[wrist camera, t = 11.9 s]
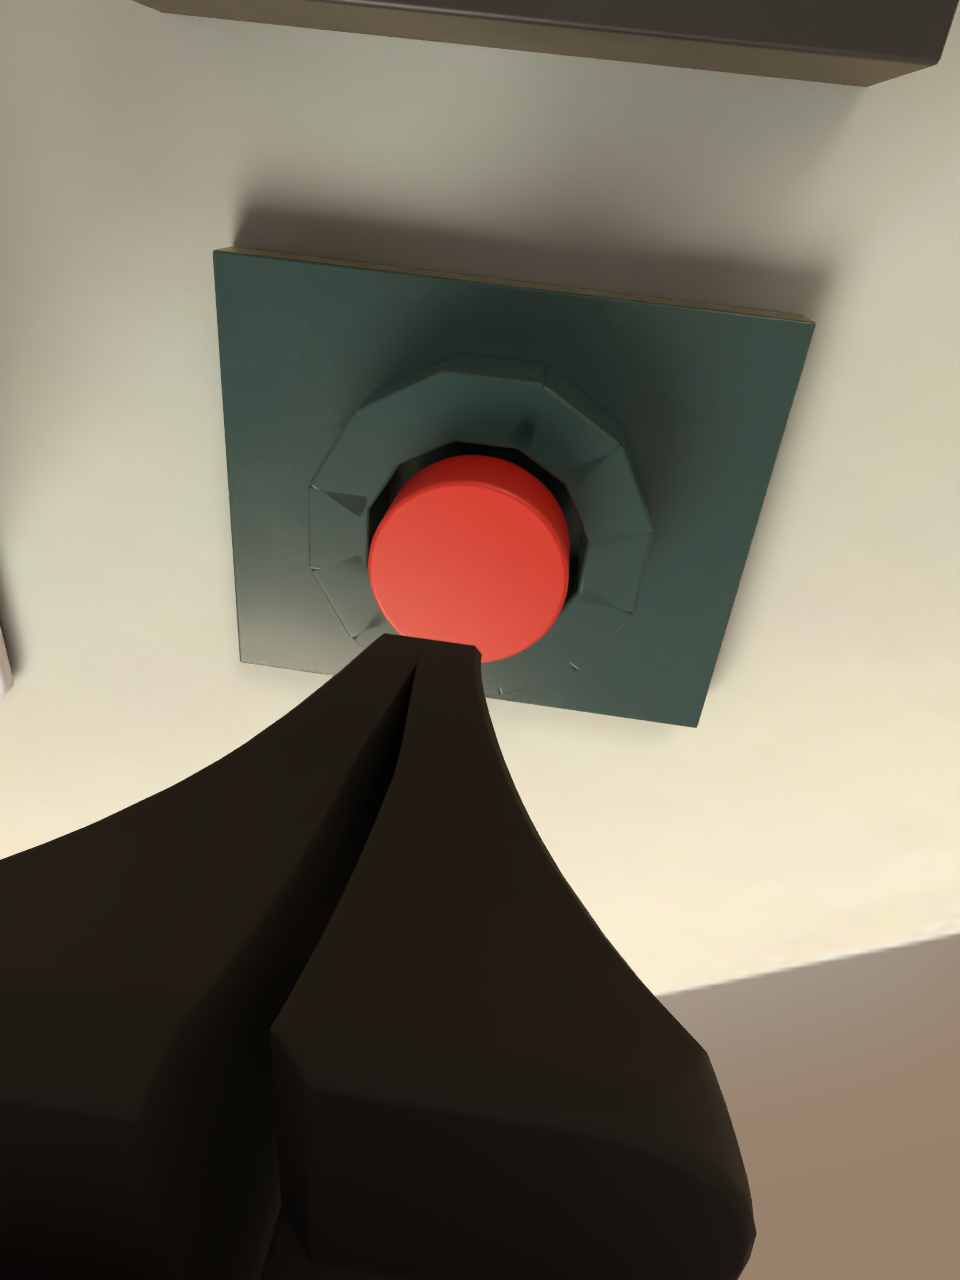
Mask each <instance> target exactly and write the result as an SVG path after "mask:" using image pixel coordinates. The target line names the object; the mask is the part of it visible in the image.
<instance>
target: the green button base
mask: <svg viewBox="0 0 960 1280" xmlns="http://www.w3.org/2000/svg"><path fill="white" fill-rule="evenodd" d="M213 263H214V278H215V293H216V308H217V323H218V338H219V353H220V368H221V383H222V397H223V412H224V427H225V442H226V457H227V472H228V487H229V502H230V517H231V531H232V546H233V561H234V576H235V591H236V606H237V621H238V636H239V651H240V661H241V662H244V663H251V664H258V665H265V666H272V667H278V668H285V669H292V670H299V671H306V672H313V673H320V674H327V675H334V676H335V675H336V674H337V673H338V672H339V671H341V670H342V669H343V668H344V667H345V666H346V665H347V664H349V663H350V662H351V661H352V660H353V659H354V658H355V657H357V656H358V655H359V654H360V653H361V652H362V651H363V650H364V649H366V648H367V647H368V646H369V645H370V644H371V643H372V642H373V641H375V640H376V639H377V638H378V637H380V636H381V635H383V634H384V633H388V634H395V635H400V634H399V633H398V632H397V631H396V630H395V629H394V628H393V627H392V625H391V624H390V623H389V622H388V621H387V619H386V618H385V616H384V615H383V613H382V612H381V610H380V608H379V606H378V604H377V602H376V600H375V597H374V594H373V591H372V588H371V584H370V579H369V569H368V560H369V551H370V547H371V543H372V539H373V536H374V534H375V532H376V529H377V527H378V526H379V524H380V522H381V520H382V519H383V517H384V515H385V514H386V512H387V510H388V508H389V507H390V505H391V503H392V502H393V500H394V498H395V497H396V495H397V493H398V492H399V490H400V489H401V488H402V487H403V485H404V484H405V483H406V482H407V481H408V480H409V479H410V478H411V477H412V476H413V475H414V474H416V473H417V472H419V471H420V470H422V469H423V468H425V467H426V466H428V465H430V464H432V463H434V462H437V461H440V460H443V459H446V458H449V457H454V456H459V455H486V456H491V457H496V458H500V459H503V460H506V461H509V462H511V463H513V464H516V465H518V466H520V467H522V468H523V469H525V470H526V471H528V472H530V473H531V474H533V475H534V476H535V477H536V478H537V479H539V480H540V481H541V482H542V483H543V484H544V485H545V486H546V487H547V488H548V490H549V491H550V492H551V493H552V495H553V496H554V497H555V499H556V500H557V502H558V504H559V506H560V508H561V510H562V512H563V514H564V517H565V520H566V523H567V527H568V532H569V540H570V556H569V581H568V590H567V594H566V598H565V602H564V605H563V607H562V610H561V612H560V614H559V616H558V617H557V619H556V621H555V622H554V624H553V625H552V626H551V627H550V629H549V630H548V631H547V632H546V633H545V634H544V635H543V636H542V637H541V638H540V639H539V640H538V641H536V642H535V643H534V644H532V645H531V646H530V647H528V648H527V649H525V650H523V651H521V652H519V653H517V654H515V655H512V656H510V657H507V658H504V659H500V660H496V661H491V662H484V663H481V675H482V683H483V689H484V694H485V697H486V698H493V699H500V700H507V701H514V702H521V703H528V704H535V705H541V706H548V707H555V708H562V709H569V710H576V711H583V712H590V713H597V714H604V715H611V716H618V717H624V718H631V719H638V720H645V721H652V722H659V723H666V724H673V725H680V726H687V727H694V728H696V727H697V726H698V723H699V719H700V716H701V712H702V709H703V706H704V702H705V699H706V695H707V692H708V689H709V685H710V682H711V678H712V675H713V672H714V668H715V665H716V661H717V658H718V655H719V651H720V648H721V644H722V641H723V638H724V634H725V631H726V627H727V624H728V621H729V617H730V614H731V610H732V607H733V604H734V600H735V597H736V593H737V590H738V587H739V583H740V580H741V576H742V573H743V570H744V566H745V563H746V559H747V556H748V553H749V549H750V546H751V542H752V539H753V536H754V532H755V529H756V526H757V522H758V519H759V515H760V512H761V509H762V505H763V502H764V498H765V495H766V492H767V488H768V485H769V481H770V478H771V475H772V471H773V468H774V464H775V461H776V458H777V454H778V451H779V447H780V444H781V441H782V437H783V434H784V430H785V427H786V424H787V420H788V417H789V413H790V410H791V407H792V403H793V400H794V396H795V393H796V390H797V386H798V383H799V379H800V376H801V373H802V369H803V366H804V362H805V359H806V356H807V352H808V349H809V345H810V342H811V339H812V335H813V332H814V328H815V322H813V321H812V320H810V319H809V318H807V317H805V316H804V315H800V314H791V313H783V312H775V311H766V310H758V309H749V308H741V307H733V306H724V305H716V304H708V303H699V302H691V301H683V300H674V299H666V298H657V297H649V296H641V295H632V294H624V293H616V292H607V291H599V290H590V289H582V288H574V287H565V286H557V285H549V284H540V283H532V282H524V281H515V280H507V279H498V278H490V277H482V276H473V275H465V274H457V273H448V272H440V271H432V270H423V269H415V268H406V267H398V266H390V265H381V264H373V263H365V262H356V261H348V260H340V259H331V258H323V257H314V256H306V255H298V254H289V253H281V252H273V251H264V250H256V249H248V248H239V247H227V248H222V249H217V250H214V251H213Z"/></svg>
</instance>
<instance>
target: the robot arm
mask: <svg viewBox="0 0 960 1280" xmlns="http://www.w3.org/2000/svg"><path fill="white" fill-rule="evenodd" d="M481 660H482V654H481V652H480V651H479V650H478V649H477V647H476V646H475V645H467V644H460V643H453V642H446V641H439V640H431V639H424V638H417V637H410V636H403V635H395V634H388V633H384V634H383V635H381V636H380V637H378V638H377V639H376V640H375V641H373V642H372V643H371V644H370V645H369V646H368V647H367V648H366V649H364V650H363V651H362V652H361V653H360V654H359V655H358V656H357V657H355V658H354V659H353V660H352V661H351V662H350V663H349V664H347V665H346V666H345V667H344V668H343V669H342V670H341V671H339V672H338V673H337V674H336V675H335V676H334V677H332V678H331V679H330V680H329V681H328V682H326V683H325V684H324V685H323V686H321V687H320V688H319V689H318V690H316V691H315V692H314V693H313V694H311V695H310V696H309V697H308V698H306V699H305V700H304V701H303V702H301V703H300V704H299V705H298V706H296V707H295V708H294V709H293V710H291V711H290V712H289V713H287V714H286V715H284V716H283V717H282V718H280V719H279V720H277V721H276V722H275V723H273V724H272V725H270V726H269V727H268V728H266V729H265V730H263V731H262V732H261V733H259V734H258V735H256V736H255V737H253V738H252V739H251V740H249V741H248V742H246V743H245V744H243V745H242V746H240V747H239V748H237V749H236V750H234V751H233V752H231V753H229V754H228V755H226V756H225V757H223V758H221V759H220V760H218V761H216V762H214V763H213V764H211V765H209V766H207V767H206V768H204V769H202V770H200V771H199V772H197V773H195V774H193V775H192V776H190V777H188V778H186V779H184V780H183V781H181V782H179V783H177V784H175V785H173V786H171V787H169V788H167V789H165V790H163V791H161V792H159V793H157V794H155V795H153V796H150V797H148V798H146V799H144V800H142V801H140V802H138V803H136V804H134V805H131V806H129V807H127V808H125V809H123V810H121V811H119V812H117V813H115V814H113V815H110V816H108V817H106V818H104V819H102V820H100V821H98V822H95V823H93V824H91V825H88V826H86V827H84V828H81V829H79V830H76V831H74V832H71V833H69V834H67V835H64V836H62V837H59V838H57V839H54V840H52V841H49V842H47V843H44V844H42V845H39V846H36V847H34V848H31V849H28V850H26V851H23V852H20V853H17V854H15V855H12V856H9V857H7V858H4V859H1V860H0V1280H738V1278H739V1276H740V1274H741V1273H742V1271H743V1269H744V1267H745V1266H746V1264H747V1262H748V1260H749V1258H750V1255H751V1251H752V1248H753V1244H754V1241H755V1237H756V1228H755V1223H754V1219H753V1208H752V1199H751V1194H750V1189H749V1184H748V1179H747V1175H746V1171H745V1168H744V1164H743V1161H742V1157H741V1153H740V1150H739V1146H738V1142H737V1139H736V1136H735V1132H734V1129H733V1126H732V1122H731V1119H730V1116H729V1113H728V1110H727V1106H726V1103H725V1101H724V1098H723V1095H722V1092H721V1089H720V1086H719V1084H718V1081H717V1078H716V1075H715V1072H714V1070H713V1067H712V1064H711V1062H710V1059H709V1057H708V1054H707V1052H706V1051H705V1050H704V1049H703V1048H702V1047H701V1045H700V1044H699V1043H698V1042H697V1041H696V1040H695V1039H694V1038H693V1037H692V1036H691V1035H690V1034H689V1033H688V1032H687V1031H686V1029H685V1028H683V1026H682V1025H681V1024H680V1023H679V1022H678V1021H677V1020H676V1019H675V1018H674V1017H673V1016H672V1014H671V1013H670V1012H669V1011H668V1010H667V1009H666V1008H665V1007H664V1006H663V1005H662V1004H661V1003H660V1002H659V1000H658V999H657V998H656V997H655V996H654V995H653V994H652V993H651V992H650V991H649V989H648V988H647V987H646V986H645V985H644V984H643V983H642V981H641V980H640V979H639V978H638V977H637V975H636V974H635V973H634V972H633V970H632V969H631V968H630V967H629V965H628V964H627V963H626V962H625V960H624V959H623V958H622V957H621V955H620V954H619V953H618V952H617V950H616V949H615V948H614V947H613V945H612V944H611V943H610V942H609V940H608V939H607V938H606V937H605V935H604V934H603V932H602V931H601V929H600V928H599V927H598V925H597V924H596V922H595V921H594V919H593V918H592V917H591V915H590V914H589V912H588V911H587V909H586V908H585V907H584V905H583V904H582V902H581V901H580V899H579V898H578V897H577V895H576V894H575V892H574V891H573V889H572V888H571V887H570V885H569V884H568V882H567V881H566V879H565V878H564V876H563V875H562V873H561V872H560V870H559V868H558V867H557V865H556V863H555V862H554V860H553V858H552V856H551V855H550V853H549V851H548V850H547V848H546V846H545V845H544V843H543V841H542V839H541V837H540V836H539V834H538V832H537V830H536V828H535V826H534V824H533V822H532V821H531V819H530V817H529V815H528V813H527V811H526V809H525V807H524V805H523V803H522V800H521V798H520V796H519V794H518V792H517V789H516V787H515V785H514V782H513V780H512V778H511V775H510V773H509V770H508V768H507V765H506V763H505V760H504V758H503V755H502V752H501V749H500V747H499V744H498V741H497V737H496V734H495V731H494V728H493V725H492V721H491V718H490V715H489V711H488V707H487V703H486V699H485V694H484V689H483V683H482V675H481ZM12 686H13V676H12V672H11V668H10V664H9V660H8V656H7V652H6V648H5V643H4V639H3V635H2V631H1V627H0V697H1V696H3V695H4V694H6V693H7V692H8V691H9V690H10V689H11V687H12Z"/></svg>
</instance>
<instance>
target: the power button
mask: <svg viewBox="0 0 960 1280" xmlns="http://www.w3.org/2000/svg"><path fill="white" fill-rule="evenodd" d="M569 556H570V540H569V532H568V527H567V523H566V520H565V517H564V514H563V512H562V510H561V508H560V506H559V504H558V502H557V500H556V499H555V497H554V496H553V495H552V493H551V492H550V491H549V490H548V488H547V487H546V486H545V485H544V484H543V483H542V482H541V481H540V480H539V479H537V478H536V477H535V476H534V475H533V474H531V473H530V472H528V471H526V470H525V469H523V468H522V467H520V466H518V465H516V464H513V463H511V462H509V461H506V460H503V459H500V458H496V457H491V456H486V455H459V456H454V457H449V458H446V459H443V460H440V461H437V462H434V463H432V464H430V465H428V466H426V467H425V468H423V469H422V470H420V471H419V472H417V473H416V474H414V475H413V476H412V477H411V478H410V479H409V480H408V481H407V482H406V483H405V484H404V485H403V487H402V488H401V489H400V490H399V492H398V493H397V495H396V497H395V498H394V500H393V502H392V503H391V505H390V507H389V508H388V510H387V512H386V514H385V515H384V517H383V519H382V520H381V522H380V524H379V526H378V527H377V529H376V532H375V534H374V536H373V539H372V543H371V547H370V551H369V560H368V569H369V579H370V584H371V588H372V591H373V594H374V597H375V600H376V602H377V604H378V606H379V608H380V610H381V612H382V613H383V615H384V616H385V618H386V619H387V621H388V622H389V623H390V624H391V625H392V627H393V628H394V629H395V630H396V631H397V632H398V633H399V634H400V635H403V636H410V637H417V638H424V639H431V640H439V641H446V642H453V643H460V644H467V645H475V646H476V647H477V649H478V650H479V651H480V652H481V654H482V660H481V663H484V662H491V661H496V660H500V659H504V658H507V657H510V656H512V655H515V654H517V653H519V652H521V651H523V650H525V649H527V648H528V647H530V646H531V645H532V644H534V643H535V642H536V641H538V640H539V639H540V638H541V637H542V636H543V635H544V634H545V633H546V632H547V631H548V630H549V629H550V627H551V626H552V625H553V624H554V622H555V621H556V619H557V617H558V616H559V614H560V612H561V610H562V607H563V605H564V602H565V598H566V594H567V590H568V581H569Z"/></svg>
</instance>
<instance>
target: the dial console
mask: <svg viewBox="0 0 960 1280" xmlns="http://www.w3.org/2000/svg"><path fill="white" fill-rule="evenodd" d="M132 1H135V2H137V3H140V4H143V5H145V6H148V7H150V8H153V9H155V10H158V11H160V12H163V13H172V14H182V15H191V16H200V17H210V18H219V19H229V20H238V21H248V22H257V23H267V24H276V25H285V26H295V27H304V28H314V29H323V30H333V31H342V32H352V33H361V34H370V35H380V36H389V37H399V38H408V39H418V40H427V41H437V42H446V43H455V44H465V45H474V46H484V47H493V48H503V49H512V50H522V51H531V52H541V53H550V54H559V55H569V56H578V57H588V58H597V59H607V60H616V61H626V62H635V63H644V64H654V65H663V66H673V67H682V68H692V69H701V70H711V71H720V72H729V73H739V74H748V75H758V76H767V77H777V78H786V79H796V80H805V81H814V82H824V83H833V84H843V85H852V86H862V87H868V86H871V85H874V84H877V83H880V82H883V81H886V80H889V79H893V78H896V77H899V76H902V75H905V74H908V73H911V72H914V71H918V70H921V69H924V68H927V67H930V66H933V65H936V64H937V63H938V62H939V60H940V58H941V55H942V52H943V49H944V46H945V43H946V40H947V36H948V33H949V30H950V27H951V24H952V21H953V18H954V14H955V11H956V8H957V5H958V2H959V0H132Z"/></svg>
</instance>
